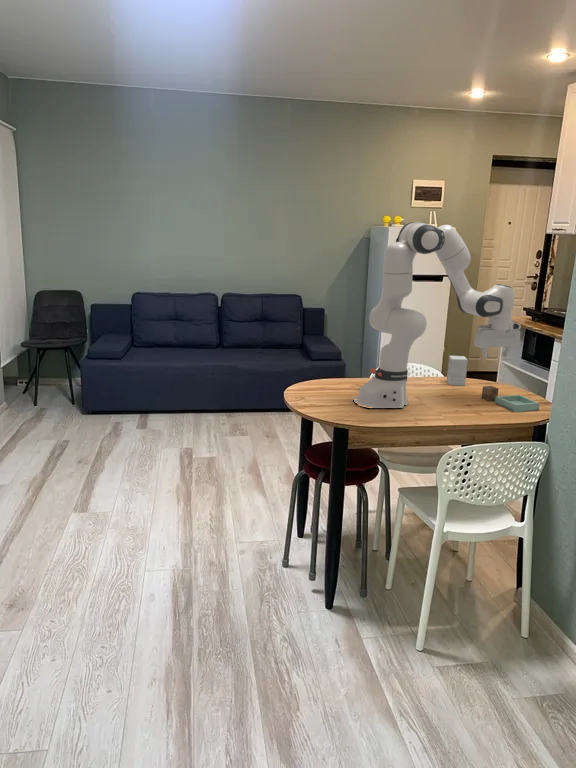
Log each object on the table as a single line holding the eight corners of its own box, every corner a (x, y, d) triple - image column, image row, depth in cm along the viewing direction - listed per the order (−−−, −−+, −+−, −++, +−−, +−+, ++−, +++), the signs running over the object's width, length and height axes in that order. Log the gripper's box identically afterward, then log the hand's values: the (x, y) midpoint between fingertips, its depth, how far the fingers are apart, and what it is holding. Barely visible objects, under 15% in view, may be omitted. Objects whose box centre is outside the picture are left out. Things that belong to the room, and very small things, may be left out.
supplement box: (462, 382, 273) (465, 356, 270) (465, 386, 266) (468, 359, 263) (446, 381, 274) (448, 355, 271) (448, 385, 267) (451, 358, 264)
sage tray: (514, 412, 230) (515, 405, 230) (494, 403, 241) (495, 396, 240) (538, 410, 234) (539, 403, 233) (518, 401, 245) (519, 394, 244)
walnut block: (488, 401, 243) (489, 389, 242) (481, 398, 247) (482, 386, 246) (496, 401, 245) (498, 388, 243) (490, 398, 249) (491, 385, 247)
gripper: (482, 326, 231) (478, 360, 235) (524, 325, 238) (519, 357, 241) (472, 323, 237) (469, 356, 241) (514, 322, 244) (509, 354, 247)
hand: (494, 357), depth 241 cm, fingers open, 8 cm apart
